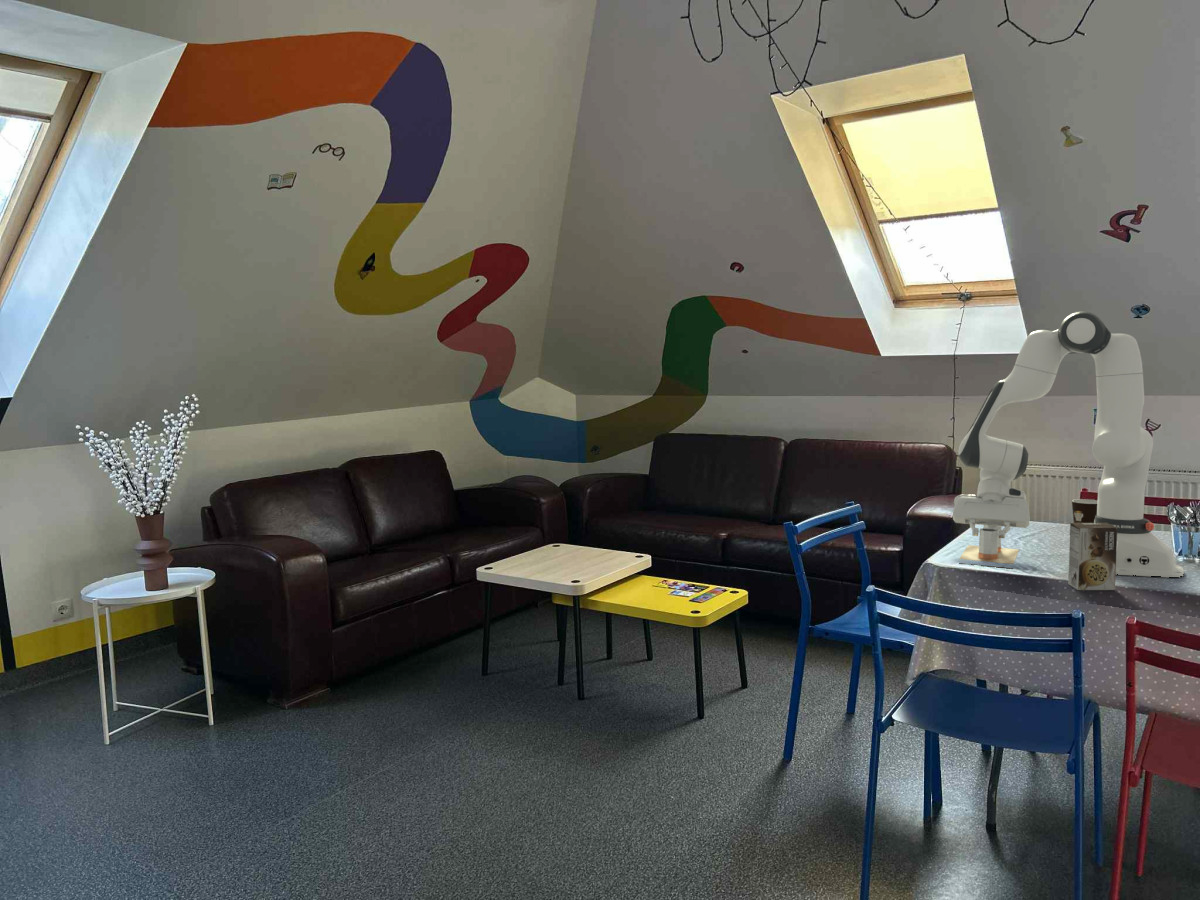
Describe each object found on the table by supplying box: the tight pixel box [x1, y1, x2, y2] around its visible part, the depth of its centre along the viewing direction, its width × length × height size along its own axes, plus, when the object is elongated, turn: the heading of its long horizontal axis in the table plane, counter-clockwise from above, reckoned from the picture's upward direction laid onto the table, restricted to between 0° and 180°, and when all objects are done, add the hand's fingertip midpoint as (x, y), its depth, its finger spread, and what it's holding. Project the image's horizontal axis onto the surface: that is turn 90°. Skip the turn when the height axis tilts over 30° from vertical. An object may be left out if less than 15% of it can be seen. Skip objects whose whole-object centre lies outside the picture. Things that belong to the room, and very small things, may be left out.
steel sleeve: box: [978, 528, 998, 560], centre depth 257 cm, size 5×5×8 cm
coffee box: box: [1067, 522, 1117, 591], centre depth 229 cm, size 9×6×16 cm
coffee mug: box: [1071, 498, 1098, 523], centre depth 296 cm, size 12×9×10 cm
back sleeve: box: [983, 525, 1003, 552], centre depth 265 cm, size 5×5×8 cm
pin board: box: [958, 544, 1020, 570], centre depth 261 cm, size 14×20×6 cm
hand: (988, 535), depth 256 cm, fingers open, 5 cm apart
